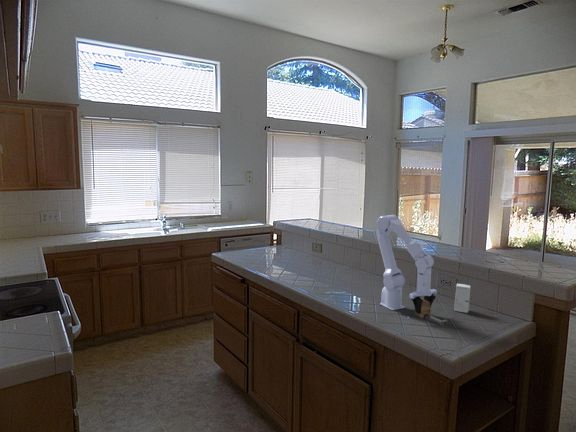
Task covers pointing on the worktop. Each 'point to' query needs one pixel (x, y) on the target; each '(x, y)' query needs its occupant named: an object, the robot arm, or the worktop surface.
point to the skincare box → (462, 298)
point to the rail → (434, 319)
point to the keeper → (424, 309)
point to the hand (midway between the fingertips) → (422, 311)
